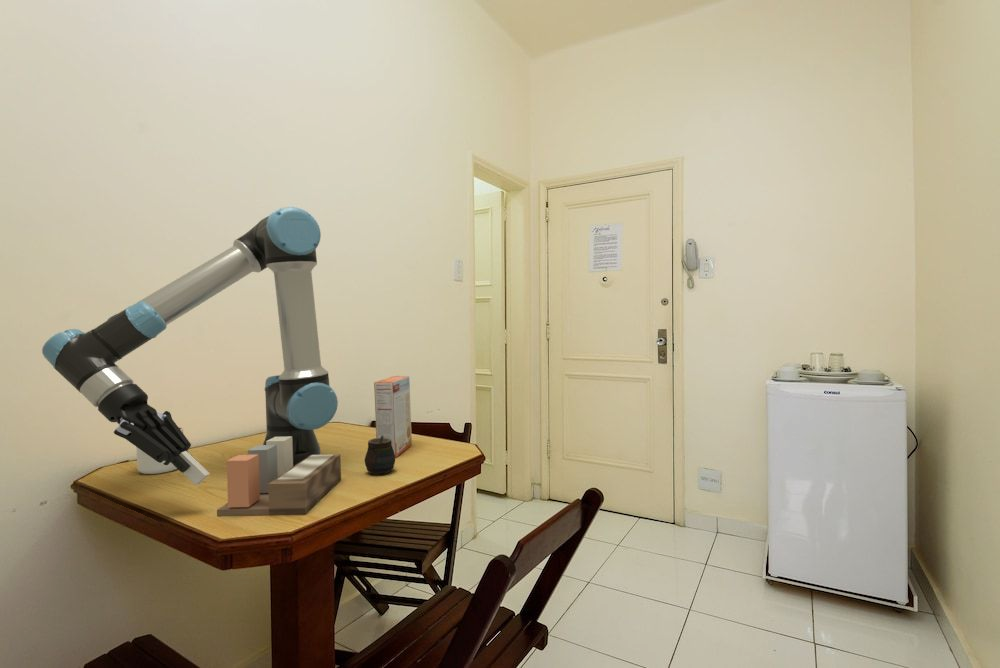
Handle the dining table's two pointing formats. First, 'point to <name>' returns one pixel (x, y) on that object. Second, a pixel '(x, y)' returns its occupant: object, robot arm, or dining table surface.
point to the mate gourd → (380, 456)
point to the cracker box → (393, 412)
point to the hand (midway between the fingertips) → (202, 479)
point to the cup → (152, 463)
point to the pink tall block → (243, 480)
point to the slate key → (266, 464)
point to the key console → (294, 489)
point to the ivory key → (283, 453)
